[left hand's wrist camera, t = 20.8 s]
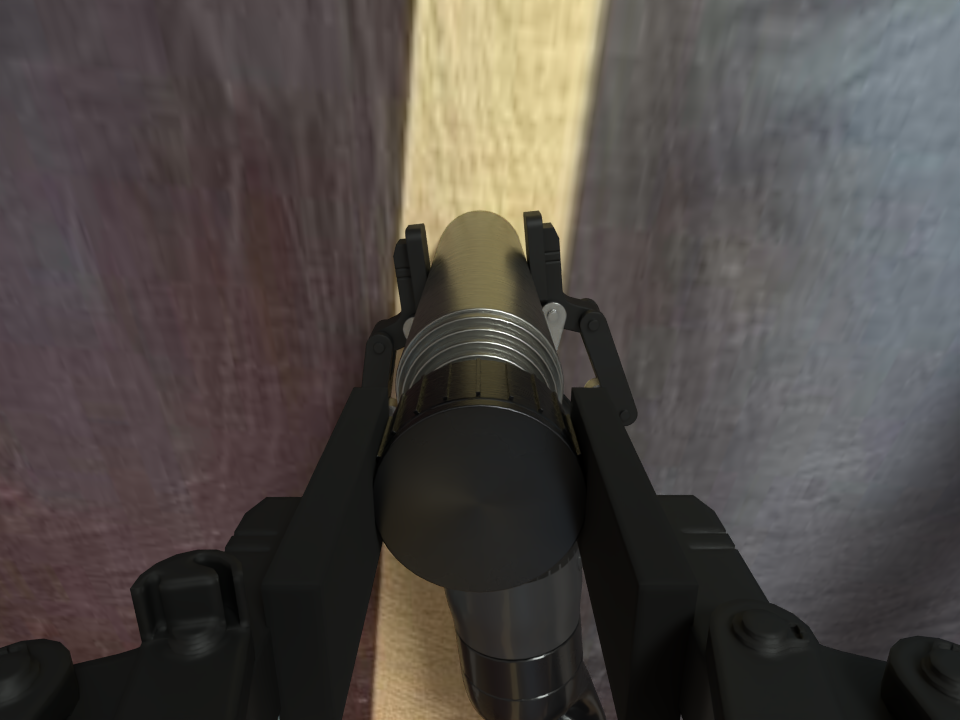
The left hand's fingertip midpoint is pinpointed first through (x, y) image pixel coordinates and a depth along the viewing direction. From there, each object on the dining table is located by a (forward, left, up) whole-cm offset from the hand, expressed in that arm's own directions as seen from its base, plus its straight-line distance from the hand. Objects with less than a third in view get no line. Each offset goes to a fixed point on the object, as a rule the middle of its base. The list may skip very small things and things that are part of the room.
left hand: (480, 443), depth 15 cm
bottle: (0, 0, -23) cm, 23 cm away
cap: (0, 0, +2) cm, 2 cm away
